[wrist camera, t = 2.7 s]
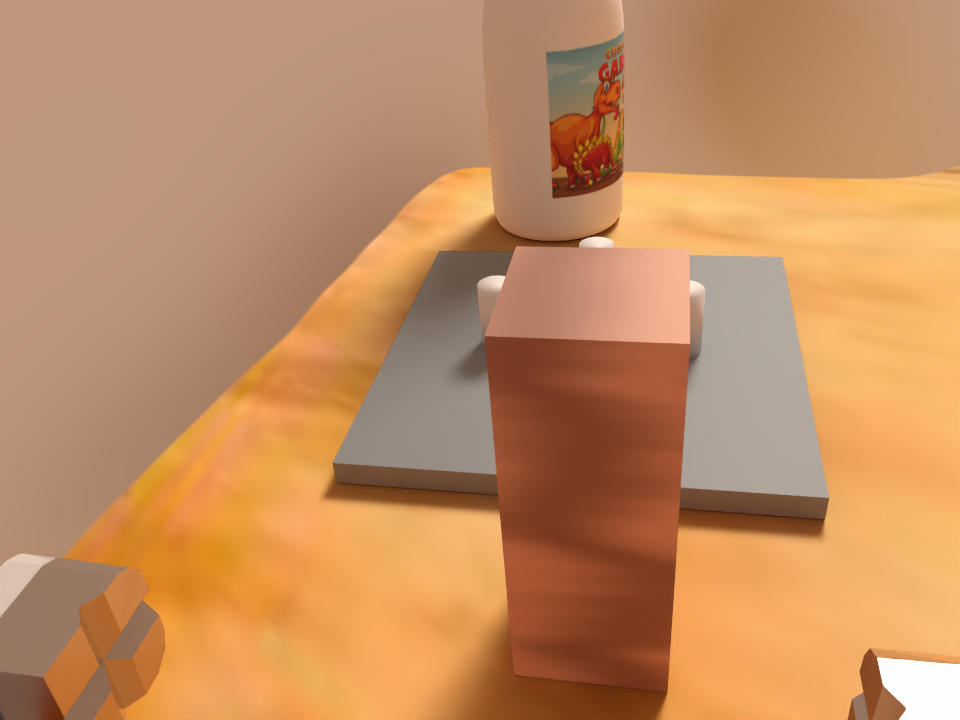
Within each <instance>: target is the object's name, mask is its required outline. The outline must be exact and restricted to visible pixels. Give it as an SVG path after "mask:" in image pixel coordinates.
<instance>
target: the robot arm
mask: <svg viewBox="0 0 960 720" xmlns="http://www.w3.org/2000/svg"><path fill="white" fill-rule="evenodd" d="M148 590H149V588H148V585H147V583H146V581H145V579H144V577H143V574H142V572H141V570H138V569H133V568H127V567H120V566H112V565H105V564H98V563H91V562H84V561H77V560H70V559H63V558H54V557H46V556H38V555H29V554H22V553H21V554H19V555H17V556H15V557H13V558H11V559H9V560H7V561H6V562H5V563H4V564H3V565H2V566H1V567H0V720H126V712H125V708H127V707H128V706H129V705H131V704H132V703H134V702H135V701H137V700H138V699H140V698H141V697H142V696H144V695H145V694H147V692H148V690H149V689H150V687H151V685H152V683H153V681H154V680H155V678H156V676H157V674H158V673H159V669H160V665H161V662H162V658H163V654H164V650H165V634H164V627H163V624H162V622H161V619H160V616H159V614H157V613H156V612H155V611H154V610H153V609H152V608H151V607H149V606H148V605H147V604H146V603H145V602H144V601H143V599H144V597H145V595H146V594H147V592H148ZM860 676H861V681H862V687H863V693H862V694H860V695H858V696H857V697H855V698H853V699H852V702H851V707H850V711H849V716H848V720H960V657H954V656H944V655H934V654H924V653H913V652H903V651H893V650H883V649H873V648H870V649H869V650H868V651H867V653H866V654H865V655H864V658H863V662H862V665H861V669H860Z"/></svg>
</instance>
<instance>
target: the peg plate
mask: <svg viewBox="0 0 960 720" xmlns="http://www.w3.org/2000/svg"><path fill="white" fill-rule="evenodd" d="M579 247H586V248H614V243H613V241H612V240H610V239H608V238H605V237H590V238H586V239H584V240H582V241H581V242H580V243H579ZM513 254H514V252H479V251H439V253H438V255H437V257H436V259H435V261H434V263H433V265H432V267H431V269H430V271H429V273H428V275H427V277H426V279H425V281H424V283H423V285H422V287H421V289H420V291H419V293H418V295H417V297H416V299H415V301H414V303H413V305H412V307H411V309H410V311H409V313H408V315H407V317H406V319H405V321H404V323H403V325H402V327H401V329H400V331H399V333H398V334H397V336H396V338H395V340H394V342H393V344H392V346H391V348H390V350H389V352H388V354H387V356H386V358H385V360H384V362H383V364H382V366H381V368H380V370H379V372H378V374H377V376H376V378H375V380H374V382H373V384H372V386H371V388H370V390H369V392H368V394H367V396H366V398H365V400H364V402H363V404H362V406H361V408H360V410H359V412H358V414H357V416H356V418H355V420H354V422H353V424H352V426H351V428H350V430H349V432H348V433H347V435H346V437H345V439H344V441H343V443H342V445H341V447H340V449H339V451H338V453H337V455H336V457H335V459H334V461H333V467H334V471H335V476H336V480H337V483H349V484H362V485H376V486H389V487H402V488H415V489H429V490H442V491H455V492H469V493H482V494H495V495H498V485H497V474H496V462H495V451H494V439H493V428H492V416H491V405H490V393H489V382H488V370H487V359H486V347H485V333H486V330H487V328H488V325H489V322H490V319H491V316H492V313H493V311H494V308H495V305H496V302H497V299H498V296H499V294H500V291H501V288H502V285H503V282H504V279H505V277H506V274H507V271H508V268H509V265H510V262H511V259H512V257H513ZM828 500H829V495H828V490H827V485H826V480H825V475H824V470H823V464H822V459H821V454H820V449H819V444H818V438H817V433H816V428H815V423H814V418H813V412H812V407H811V402H810V397H809V392H808V386H807V381H806V376H805V371H804V366H803V360H802V355H801V350H800V345H799V340H798V335H797V329H796V324H795V319H794V314H793V309H792V303H791V298H790V293H789V288H788V283H787V277H786V272H785V267H784V262H783V257H750V256H696V255H690V354H689V369H688V384H687V399H686V415H685V430H684V445H683V461H682V476H681V491H680V506H679V508H681V509H694V510H708V511H721V512H734V513H747V514H761V515H774V516H787V517H801V518H814V519H825V516H826V511H827V506H828Z"/></svg>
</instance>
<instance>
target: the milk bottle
mask: <svg viewBox="0 0 960 720" xmlns="http://www.w3.org/2000/svg"><path fill="white" fill-rule="evenodd" d="M623 23H624V22H623V10H622V1H621V0H485V1H484V8H483V27H482V30H483V60H484V75H485V92H486V108H487V122H488V136H489V150H490V163H491V177H492V190H493V202H494V211H495V216H496V218H497V220H498V222H499V223H500V225H501V226H502V227H503V228H504V229H505V230H506V231H508V232H510V233H512V234H514V235H517V236H520V237H523V238H528V239H533V240H542V241H562V240H573V239H579V238H584V237H587V236H591V235H594V234H597V233H599V232H602V231H604V230H605V229H607V228H609V227H610V226H611V225H613V224H614V223H615V222H616V220H617V219H618V217H619V215H620V213H621V210H622V198H623V147H624V145H623V144H624V26H623V25H624V24H623Z"/></svg>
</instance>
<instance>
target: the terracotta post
mask: <svg viewBox="0 0 960 720" xmlns="http://www.w3.org/2000/svg"><path fill="white" fill-rule="evenodd" d="M485 347H486V359H487V370H488V382H489V393H490V405H491V416H492V428H493V439H494V451H495V462H496V474H497V485H498V497H499V508H500V519H501V531H502V542H503V554H504V565H505V577H506V588H507V600H508V611H509V623H510V634H511V646H512V657H513V669H514V675H520V676H528V677H537V678H545V679H554V680H562V681H571V682H579V683H588V684H597V685H605V686H614V687H622V688H631V689H639V690H648V691H656V692H665V693H667V690H668V675H669V659H670V644H671V629H672V613H673V598H674V583H675V568H676V552H677V537H678V522H679V506H680V491H681V476H682V461H683V445H684V430H685V415H686V399H687V384H688V369H689V354H690V249H644V248H586V247H527V246H516V248H515V251H514V254H513V257H512V259H511V262H510V265H509V268H508V271H507V274H506V277H505V279H504V282H503V285H502V288H501V291H500V294H499V296H498V299H497V302H496V305H495V308H494V311H493V313H492V316H491V319H490V322H489V325H488V328H487V330H486V333H485Z"/></svg>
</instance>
